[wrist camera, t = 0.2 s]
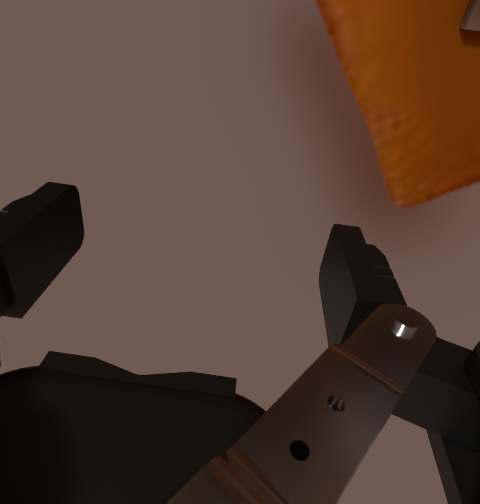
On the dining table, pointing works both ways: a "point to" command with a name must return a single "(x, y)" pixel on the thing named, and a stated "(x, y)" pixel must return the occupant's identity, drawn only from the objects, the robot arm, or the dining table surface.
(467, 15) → the square mounting plate
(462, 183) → the dining table surface
